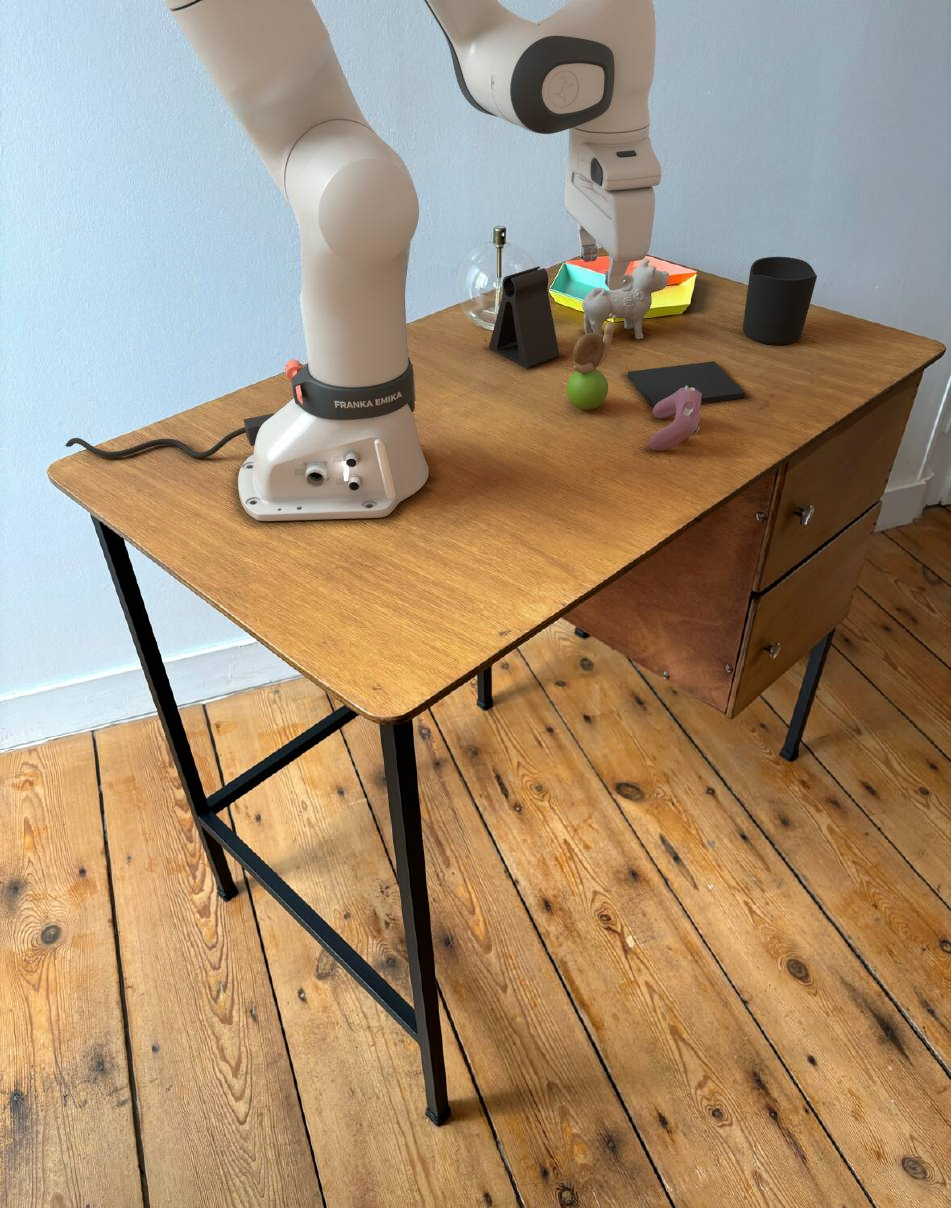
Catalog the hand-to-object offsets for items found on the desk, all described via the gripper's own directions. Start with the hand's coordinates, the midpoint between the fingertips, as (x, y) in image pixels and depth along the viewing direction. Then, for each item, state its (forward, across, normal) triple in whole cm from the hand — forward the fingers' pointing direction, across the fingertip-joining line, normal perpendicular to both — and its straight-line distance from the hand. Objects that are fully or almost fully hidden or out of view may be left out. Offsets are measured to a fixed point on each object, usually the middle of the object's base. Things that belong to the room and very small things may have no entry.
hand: (600, 273), depth 116 cm
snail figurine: (+18, 0, -1) cm, 18 cm away
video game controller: (+18, +10, +7) cm, 22 cm away
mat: (+18, -2, +14) cm, 23 cm away
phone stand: (+18, -18, -4) cm, 26 cm away
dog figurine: (+18, -21, +12) cm, 30 cm away
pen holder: (+19, -15, +34) cm, 41 cm away
